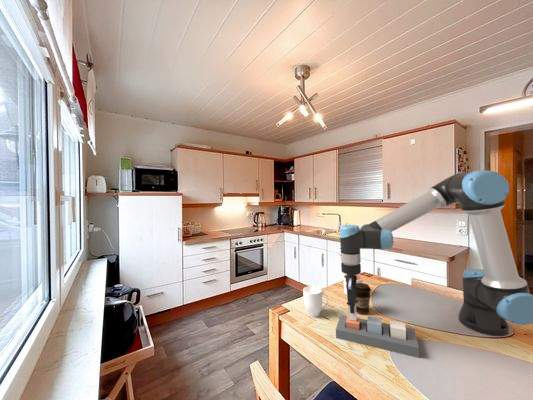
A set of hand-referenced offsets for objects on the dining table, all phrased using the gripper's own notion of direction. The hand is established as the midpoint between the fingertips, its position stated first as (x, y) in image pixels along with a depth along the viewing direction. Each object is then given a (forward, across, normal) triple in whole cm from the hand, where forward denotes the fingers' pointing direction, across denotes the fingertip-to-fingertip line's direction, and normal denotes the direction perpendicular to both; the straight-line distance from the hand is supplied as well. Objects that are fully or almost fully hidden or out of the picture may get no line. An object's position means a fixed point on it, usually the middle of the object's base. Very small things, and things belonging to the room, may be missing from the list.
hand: (352, 319), depth 93 cm
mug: (+6, -9, -18) cm, 21 cm away
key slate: (+4, 0, +8) cm, 9 cm away
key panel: (+6, 0, +8) cm, 10 cm away
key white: (+4, 0, +16) cm, 16 cm away
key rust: (+5, 0, 0) cm, 5 cm away
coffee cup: (+6, -19, +2) cm, 20 cm away
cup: (+6, -37, -4) cm, 38 cm away
